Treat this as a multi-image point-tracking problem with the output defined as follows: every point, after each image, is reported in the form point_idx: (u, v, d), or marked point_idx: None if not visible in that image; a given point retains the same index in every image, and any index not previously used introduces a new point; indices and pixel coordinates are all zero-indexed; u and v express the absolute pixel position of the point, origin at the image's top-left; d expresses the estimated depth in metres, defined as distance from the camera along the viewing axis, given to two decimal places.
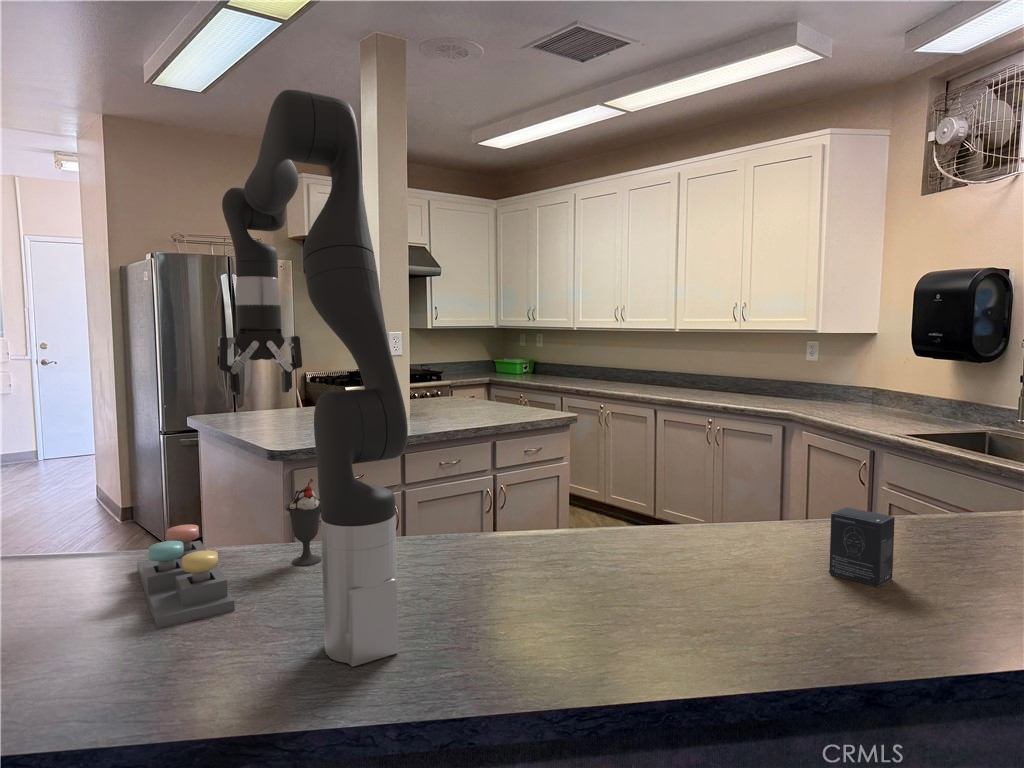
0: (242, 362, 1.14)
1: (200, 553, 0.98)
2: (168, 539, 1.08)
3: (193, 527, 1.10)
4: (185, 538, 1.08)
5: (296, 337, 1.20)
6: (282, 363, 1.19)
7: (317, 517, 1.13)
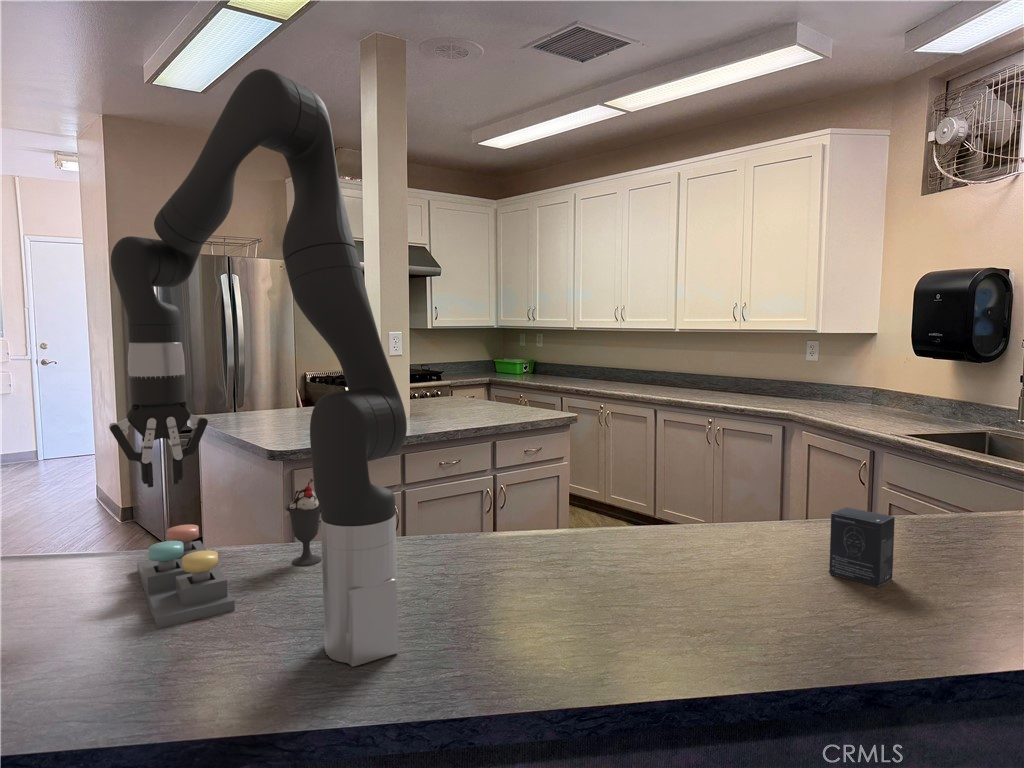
0: (149, 447, 0.97)
1: (200, 553, 0.98)
2: (168, 539, 1.08)
3: (193, 527, 1.10)
4: (185, 538, 1.08)
5: (204, 420, 1.02)
6: (173, 447, 1.00)
7: (317, 517, 1.13)
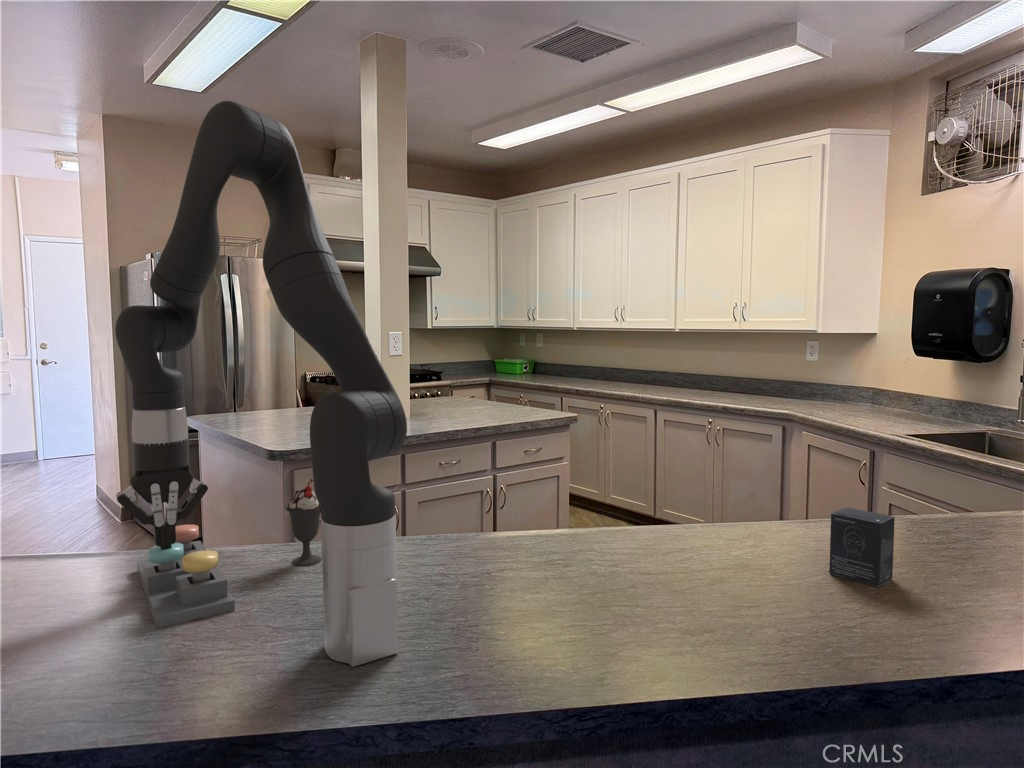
0: (159, 511, 0.99)
1: (200, 553, 0.98)
2: None
3: (193, 527, 1.10)
4: (185, 538, 1.08)
5: (205, 487, 1.03)
6: (169, 511, 1.00)
7: (317, 517, 1.13)
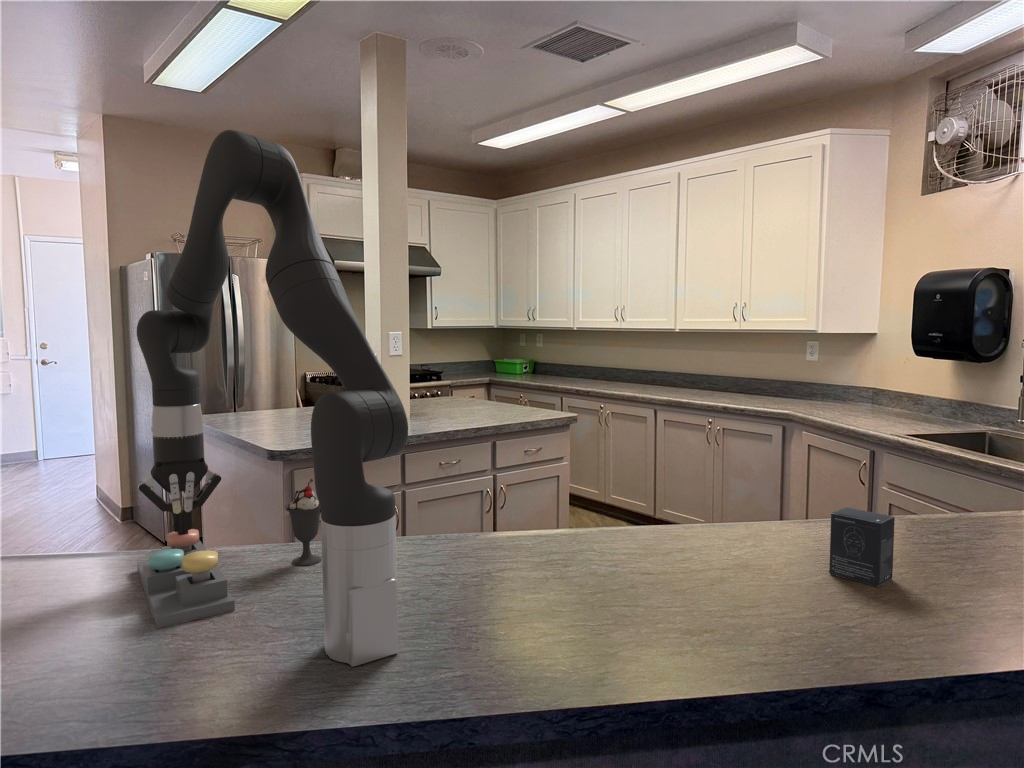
0: (177, 499, 1.07)
1: (200, 553, 0.98)
2: (168, 543, 1.08)
3: (194, 531, 1.10)
4: (185, 543, 1.08)
5: (218, 477, 1.11)
6: (186, 499, 1.09)
7: (317, 517, 1.13)
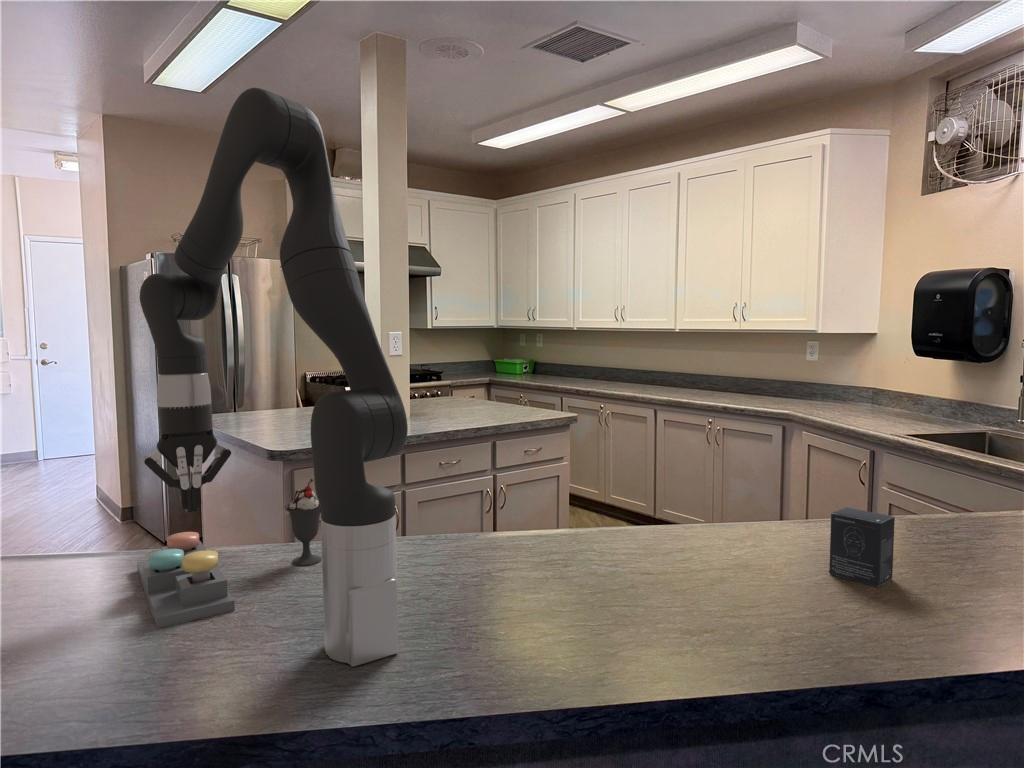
0: (185, 474, 1.02)
1: (200, 553, 0.98)
2: (168, 546, 1.08)
3: (194, 534, 1.10)
4: (185, 546, 1.08)
5: (228, 452, 1.05)
6: (194, 475, 1.03)
7: (317, 517, 1.13)
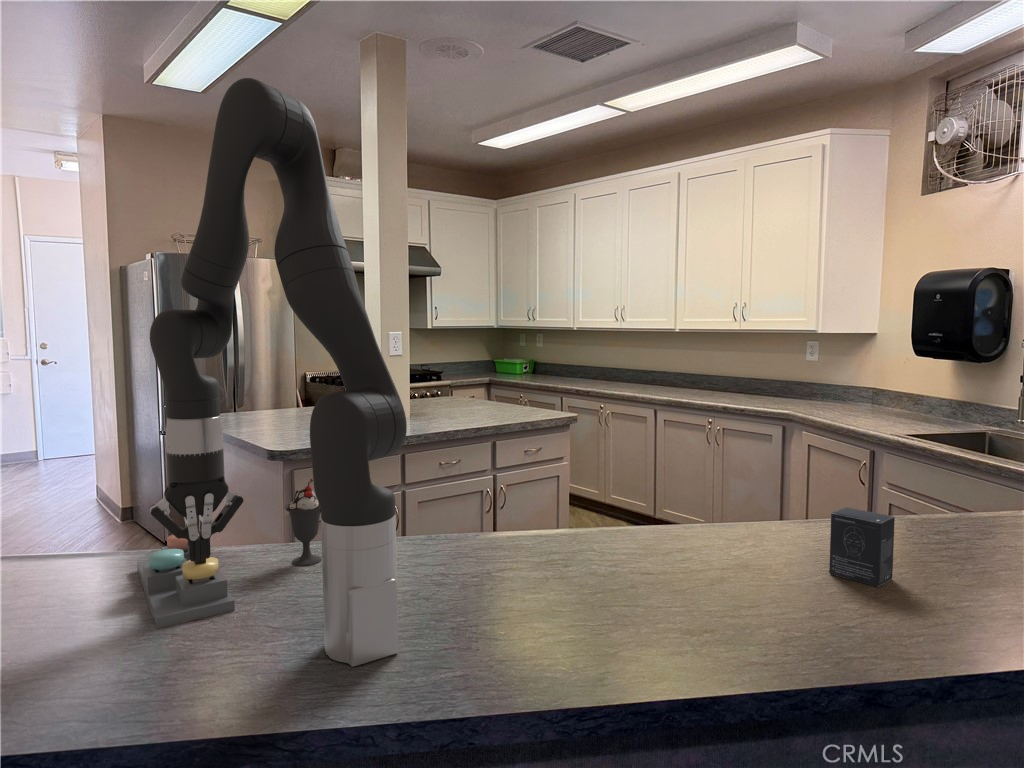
0: (194, 524, 0.94)
1: None
2: (168, 546, 1.08)
3: None
4: (185, 546, 1.08)
5: (240, 499, 0.98)
6: (204, 524, 0.96)
7: (317, 517, 1.13)
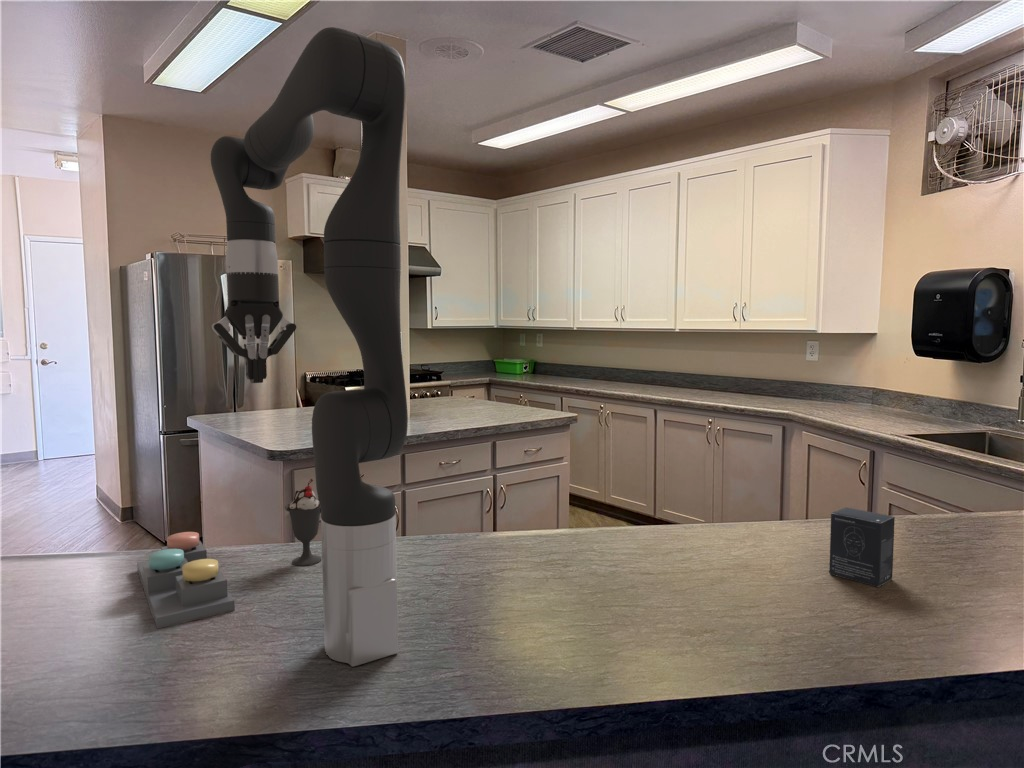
0: (252, 343, 1.01)
1: (201, 561, 0.98)
2: (168, 546, 1.08)
3: (194, 534, 1.10)
4: (185, 546, 1.08)
5: (293, 325, 1.05)
6: (261, 345, 1.02)
7: (317, 517, 1.13)
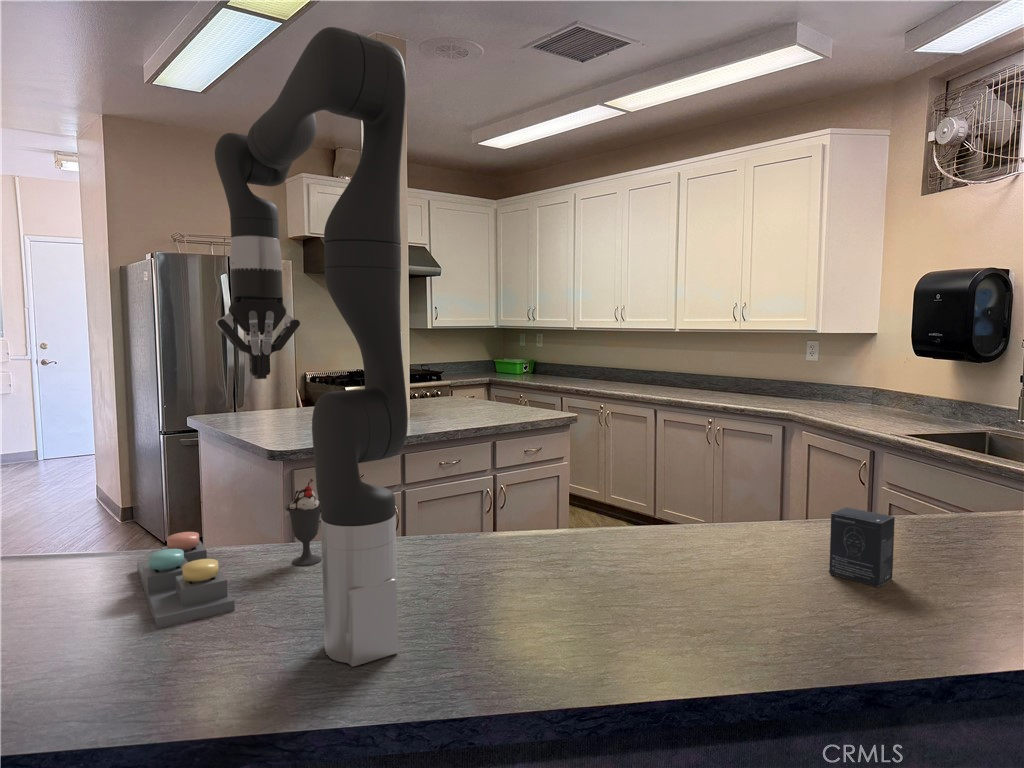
0: (256, 339, 1.01)
1: (201, 561, 0.98)
2: (168, 546, 1.08)
3: (194, 534, 1.10)
4: (185, 546, 1.08)
5: (297, 322, 1.05)
6: (264, 341, 1.02)
7: (317, 517, 1.13)
